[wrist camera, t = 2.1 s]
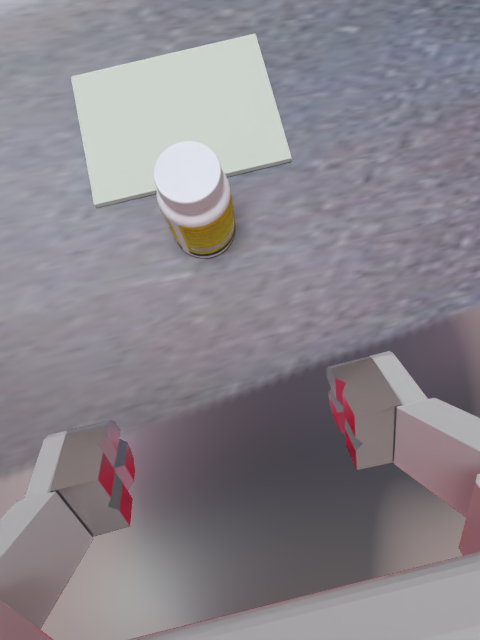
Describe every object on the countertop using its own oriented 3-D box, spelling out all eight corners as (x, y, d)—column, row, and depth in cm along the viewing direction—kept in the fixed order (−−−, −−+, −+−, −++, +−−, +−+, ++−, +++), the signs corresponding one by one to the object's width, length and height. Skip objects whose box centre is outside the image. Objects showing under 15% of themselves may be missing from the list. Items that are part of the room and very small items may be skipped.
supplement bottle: (247, 223, 31) (245, 161, 23) (211, 271, 30) (196, 225, 22) (198, 191, 32) (178, 120, 23) (162, 237, 31) (129, 181, 23)
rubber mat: (96, 207, 32) (94, 204, 31) (73, 81, 34) (70, 76, 33) (291, 161, 32) (291, 157, 31) (255, 38, 34) (255, 33, 34)
